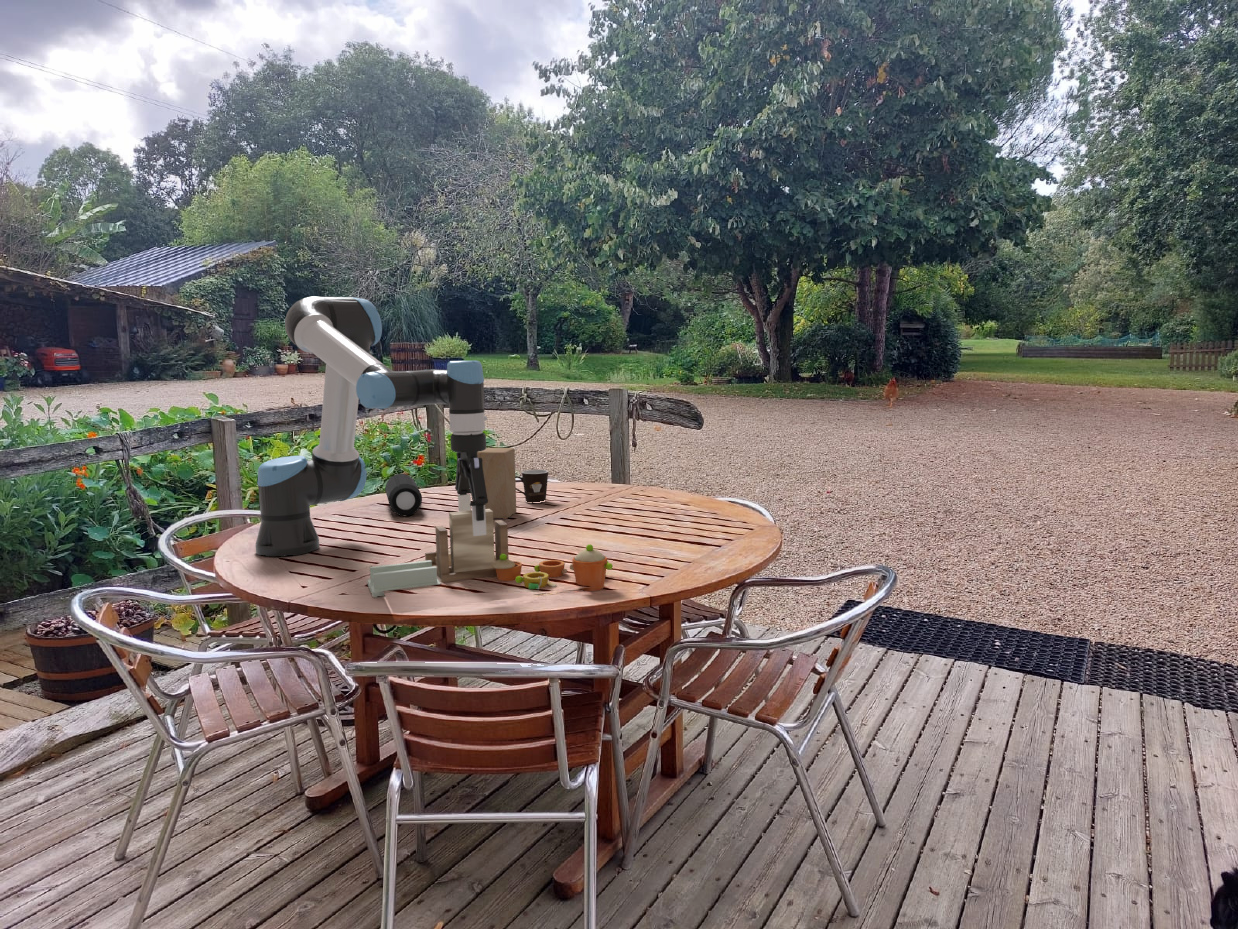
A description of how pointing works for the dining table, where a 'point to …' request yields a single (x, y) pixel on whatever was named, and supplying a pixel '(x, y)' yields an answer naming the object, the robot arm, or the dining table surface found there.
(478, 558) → the birch block
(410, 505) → the portable speaker
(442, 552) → the rack
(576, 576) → the toy tea set
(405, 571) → the stand
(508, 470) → the wooden block
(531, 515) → the dining table surface
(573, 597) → the dining table surface
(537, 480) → the coffee mug
